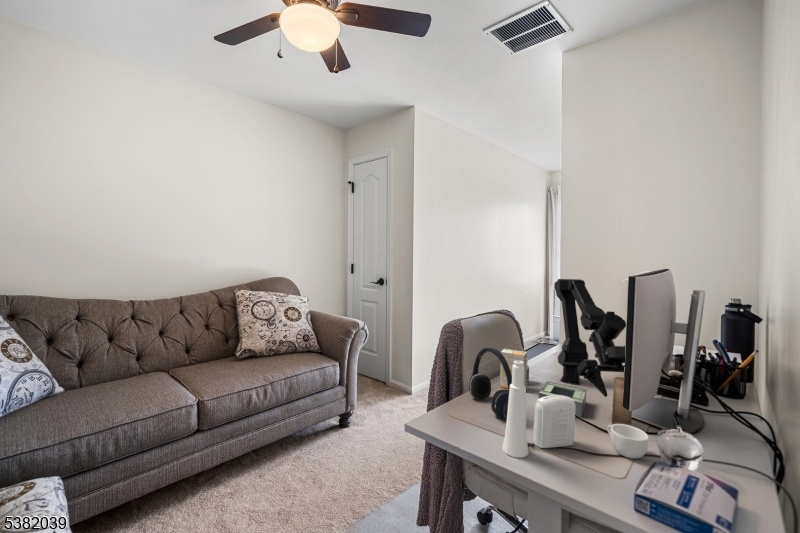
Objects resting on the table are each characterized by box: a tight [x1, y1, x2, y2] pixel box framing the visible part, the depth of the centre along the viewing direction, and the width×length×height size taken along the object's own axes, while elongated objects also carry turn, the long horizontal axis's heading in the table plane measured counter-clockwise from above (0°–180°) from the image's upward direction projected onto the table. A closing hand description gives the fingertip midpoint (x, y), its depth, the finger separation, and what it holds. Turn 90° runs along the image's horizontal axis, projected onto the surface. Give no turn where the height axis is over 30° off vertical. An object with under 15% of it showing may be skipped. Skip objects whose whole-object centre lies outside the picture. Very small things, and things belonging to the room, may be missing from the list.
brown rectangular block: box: [611, 376, 633, 426], centre depth 100 cm, size 5×5×13 cm
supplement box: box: [499, 348, 528, 390], centre depth 126 cm, size 8×5×13 cm, turn 58°
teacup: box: [606, 424, 649, 460], centre depth 87 cm, size 10×8×5 cm
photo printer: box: [532, 395, 576, 449], centre depth 89 cm, size 10×4×12 cm, turn 103°
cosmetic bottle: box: [501, 360, 529, 459], centre depth 85 cm, size 6×6×22 cm
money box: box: [538, 381, 587, 419], centre depth 112 cm, size 12×12×4 cm
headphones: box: [468, 347, 512, 419], centre depth 109 cm, size 20×7×18 cm, turn 18°
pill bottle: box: [526, 364, 530, 385], centre depth 131 cm, size 5×5×9 cm
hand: (623, 397), depth 100 cm, fingers open, 9 cm apart
